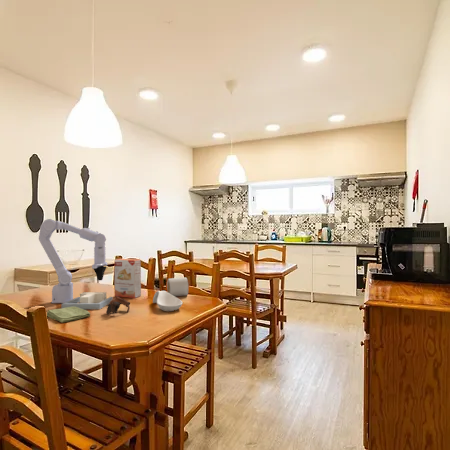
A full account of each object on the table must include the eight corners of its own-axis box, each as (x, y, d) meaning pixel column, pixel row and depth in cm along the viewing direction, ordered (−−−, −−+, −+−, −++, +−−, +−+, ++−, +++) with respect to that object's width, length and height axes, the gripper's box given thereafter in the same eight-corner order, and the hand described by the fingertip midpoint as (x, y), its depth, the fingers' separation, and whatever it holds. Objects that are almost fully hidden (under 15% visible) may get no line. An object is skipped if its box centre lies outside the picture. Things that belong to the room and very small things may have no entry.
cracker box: (114, 296, 177) (113, 259, 178) (121, 294, 183) (121, 258, 183) (134, 298, 172) (134, 260, 172) (141, 296, 178) (141, 258, 178)
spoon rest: (186, 311, 145) (186, 295, 146) (162, 315, 139) (162, 298, 139) (167, 301, 165) (167, 287, 166) (145, 304, 159) (145, 290, 159)
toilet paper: (170, 298, 171) (170, 279, 172) (167, 294, 181) (167, 277, 181) (188, 296, 175) (188, 278, 175) (184, 293, 184) (184, 276, 184)
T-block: (72, 307, 153) (71, 297, 153) (83, 301, 165) (83, 292, 165) (96, 307, 153) (96, 297, 153) (106, 301, 165) (106, 292, 165)
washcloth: (61, 325, 127) (61, 317, 127) (44, 317, 138) (44, 309, 138) (93, 317, 137) (92, 310, 137) (74, 311, 148) (74, 304, 148)
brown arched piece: (106, 311, 146) (116, 295, 149) (125, 320, 147) (134, 304, 149) (100, 311, 135) (110, 293, 137) (120, 321, 135) (130, 303, 138)
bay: (61, 309, 150) (61, 304, 150) (77, 301, 166) (77, 296, 166) (99, 309, 150) (99, 303, 150) (112, 301, 165) (112, 296, 165)
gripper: (101, 256, 166) (101, 282, 166) (112, 254, 181) (112, 278, 181) (88, 256, 167) (88, 282, 166) (100, 254, 181) (100, 278, 181)
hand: (100, 280), depth 174 cm, fingers closed
